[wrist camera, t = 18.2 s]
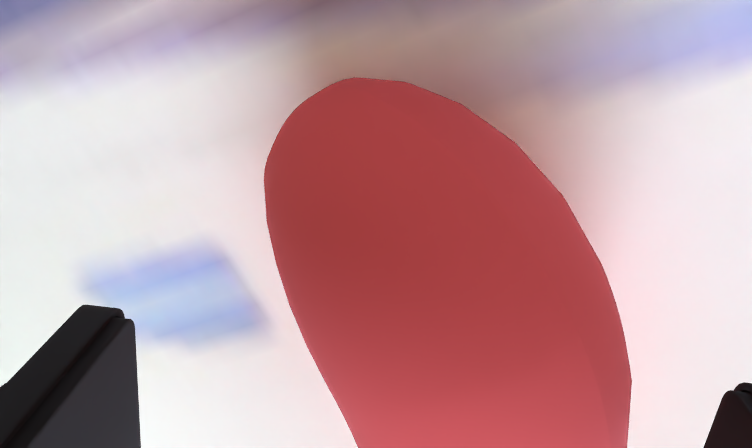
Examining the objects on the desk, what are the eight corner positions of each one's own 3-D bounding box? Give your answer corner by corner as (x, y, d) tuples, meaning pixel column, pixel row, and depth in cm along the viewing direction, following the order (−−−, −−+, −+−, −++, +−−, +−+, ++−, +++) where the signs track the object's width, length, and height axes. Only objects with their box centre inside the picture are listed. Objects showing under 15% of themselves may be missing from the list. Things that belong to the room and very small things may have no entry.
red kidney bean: (619, 65, 13) (528, -11, 7) (676, 519, 13) (629, 786, 7) (386, 115, 15) (188, 89, 10) (437, 493, 15) (269, 677, 10)
